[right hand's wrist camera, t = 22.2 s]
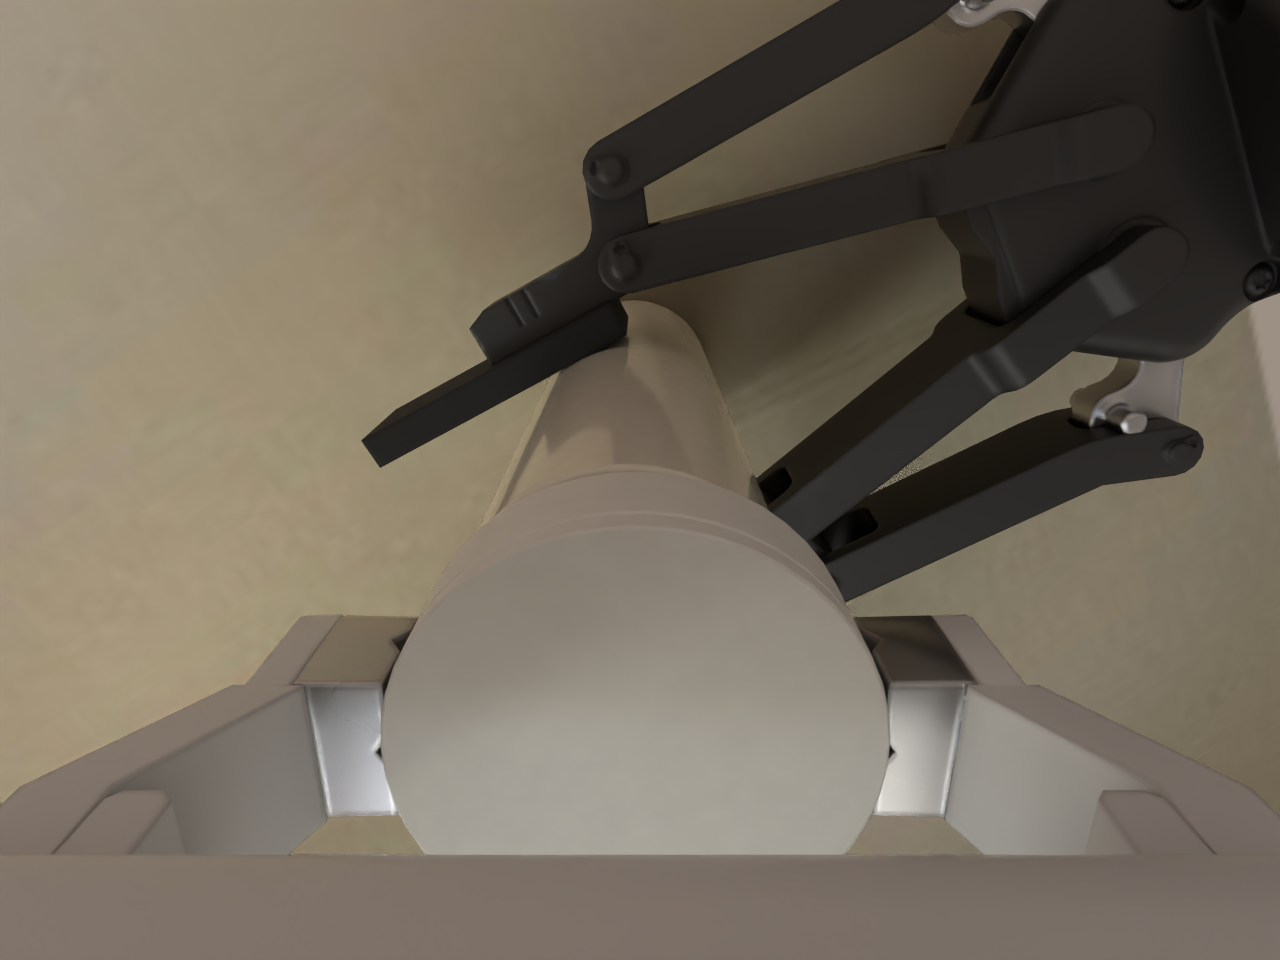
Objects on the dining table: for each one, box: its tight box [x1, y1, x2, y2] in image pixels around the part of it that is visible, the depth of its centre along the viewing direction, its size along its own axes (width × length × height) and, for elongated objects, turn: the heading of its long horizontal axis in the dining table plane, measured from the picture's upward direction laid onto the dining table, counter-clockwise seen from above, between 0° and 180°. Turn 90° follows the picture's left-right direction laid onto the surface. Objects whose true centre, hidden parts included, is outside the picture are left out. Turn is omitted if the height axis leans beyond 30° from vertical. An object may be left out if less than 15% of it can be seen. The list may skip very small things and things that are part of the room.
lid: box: [381, 472, 890, 855], centre depth 9 cm, size 6×6×2 cm
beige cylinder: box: [480, 300, 769, 527], centre depth 17 cm, size 5×5×17 cm
